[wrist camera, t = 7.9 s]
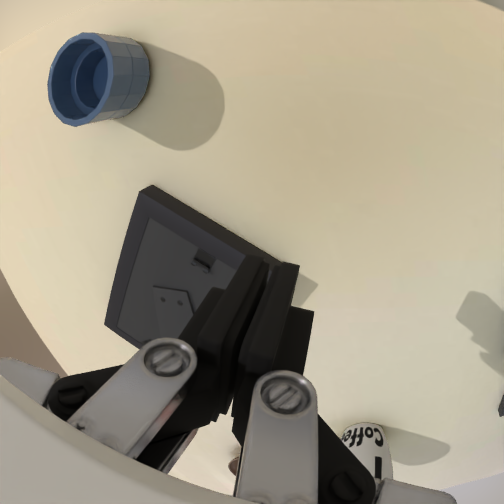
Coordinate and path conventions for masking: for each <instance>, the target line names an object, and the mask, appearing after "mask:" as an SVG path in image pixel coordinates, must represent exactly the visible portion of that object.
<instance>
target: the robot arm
mask: <svg viewBox="0 0 504 504" xmlns="http://www.w3.org/2000/svg"><path fill="white" fill-rule="evenodd" d="M299 267H300V265H296V264H291V263H287V262H282V265H281V266H280V265H275V266H274V268H273V271H272V273H271V276H270V278H269V281H268V275H269V269H270V263H267V262H265V257H261V256H257V255H252V254H247V255H246V256H245V258H244V260H243V261H242V263H241V265H240V266H239V268H238V270H237V271H236V273H235V275H234V276H233V278H232V280H231V281H230V283H229V284H228V286H227V288H226V289H221V288H217V287H212V288H211V289H210V291H209V292H208V294H207V295H206V297H205V298H204V300H203V301H202V303H201V304H200V306H199V307H198V309H197V310H196V312H195V313H194V315H193V316H192V318H191V319H190V321H189V322H188V324H187V325H186V327H185V328H184V330H183V331H182V333H181V334H180V336H179V337H178V339H176V338H168V337H166V338H158V339H155V340H152V341H150V342H148V343H147V344H146V345H144V346H143V347H142V348H141V349H140V350H139V351H138V352H137V353H136V354H135V355H134V356H133V357H132V358H131V359H130V360H128V361H127V362H126V363H125V364H123V365H119V366H114V367H110V368H105V369H101V370H96V371H91V372H86V373H81V374H76V375H71V376H67V377H64V378H60V377H59V375H58V374H57V373H54V372H51V371H48V370H45V369H42V368H39V367H36V366H33V365H30V364H27V363H25V362H22V361H20V360H16V359H14V358H10V357H4V358H0V504H457V502H456V500H455V499H454V498H453V497H452V496H451V495H450V494H448V493H446V492H442V491H437V490H433V489H428V488H424V487H419V486H415V485H411V484H407V483H403V482H400V481H396V480H392V479H389V478H384V479H383V480H381V479H377V478H374V477H373V476H372V475H371V473H370V472H369V471H368V469H367V468H366V467H365V466H364V465H363V464H362V463H361V462H360V461H359V460H358V459H357V457H356V456H355V455H354V454H353V453H352V452H351V451H350V450H349V449H348V447H347V446H346V445H345V444H344V443H343V442H342V441H341V440H340V439H339V437H338V436H337V435H336V434H335V433H334V432H333V431H332V429H331V428H330V427H329V426H328V425H327V424H326V423H325V421H324V420H323V419H322V418H321V417H320V416H319V414H318V407H317V394H316V390H315V388H314V386H313V385H312V383H311V382H310V381H309V380H308V379H306V378H305V377H304V376H303V372H304V367H305V362H306V357H307V351H308V346H309V340H310V335H311V329H312V323H313V317H314V311H310V310H306V309H302V308H298V307H293V306H291V302H292V298H293V294H294V290H295V285H296V281H297V276H298V272H299ZM267 281H268V283H267ZM233 397H234V398H233ZM232 399H233V405H232V413H231V417H234V420H233V427H232V432H233V434H234V435H235V437H236V439H237V440H238V442H239V443H240V445H241V449H240V455H239V461H238V467H237V474H236V480H235V485H234V491H233V497H232V496H229V495H225V494H222V493H219V492H215V491H212V490H209V489H206V488H203V487H200V486H197V485H194V484H191V483H189V482H186V481H183V480H181V479H178V478H175V477H173V476H170V475H168V473H169V471H170V470H171V468H172V467H173V466H174V464H175V463H176V462H177V460H178V459H179V457H180V456H181V455H182V453H183V452H184V450H185V449H186V448H187V446H188V445H189V443H190V442H191V441H192V439H193V438H194V436H195V435H196V433H197V431H198V429H199V428H200V427H203V426H206V425H209V424H210V422H211V421H214V422H216V421H217V419H218V416H219V414H220V413H221V414H224V415H226V414H227V412H228V409H229V407H230V404H231V402H232Z"/></svg>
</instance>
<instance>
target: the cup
mask: <svg viewBox="0 0 504 504" xmlns="http://www.w3.org/2000/svg"><path fill="white" fill-rule="evenodd" d="M340 440H341V441H342V442H343V443H344V444H345V445H346V446H347V447H348V449H349V450H350V451H351V452H352V453H353V454H354V455H355V456H356V457H357V459H358V460H359V461H360V462H361V463H362V464H363V465H364V466H365V467H366V468H367V469H368V471H369V472H370V473H371V475H372V476H373V477H374V478H377V479H381V480H383V479H384V478H389V479H392V480H393V467H392V461H391V455H390V450H389V445H388V442H387V439H386V437H385V434H384V431H383V429H382V427H380V426H379V425H377V424H373V423H359V424H355V425H352V426H350V427H348V428H347V429H346V430H345V431H344V433H343V435H342V437H341V439H340Z"/></svg>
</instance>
